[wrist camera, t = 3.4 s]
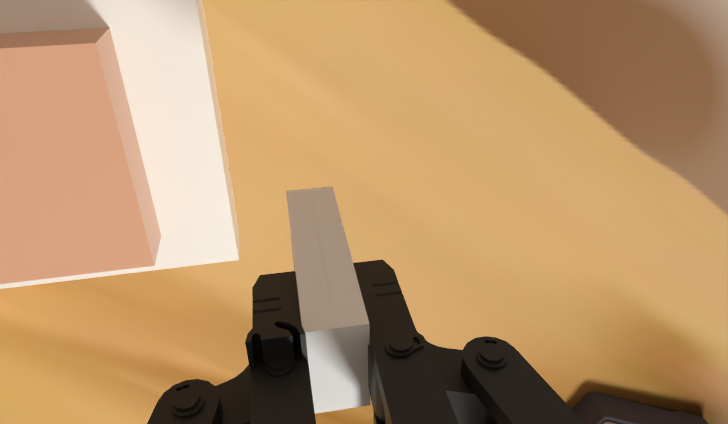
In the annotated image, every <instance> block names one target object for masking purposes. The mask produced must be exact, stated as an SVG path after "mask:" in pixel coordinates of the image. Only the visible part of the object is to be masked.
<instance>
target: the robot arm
mask: <svg viewBox="0 0 728 424" xmlns="http://www.w3.org/2000/svg"><path fill="white" fill-rule="evenodd" d="M286 192H287V202H288V212H289V222H290V232H291V242H292V252H293V262H294V271H292V272H284V273H275V274H267V275H260V276H259V278H258V280H257V281H256V283H255V285H254V286H253V328H252V330H251V331H250V332H249V333H248V335H247V338H246V342H245V343H246V348H247V354H248V360H249V365H248V366H247V367H246V369H245V370H244V371H243V372H242V373H240V374H239V375H238V376H237V377H235V378H233V379H231V380H229V381H227V382H225V383H222V384H220V385H217V386H214V385H212V384H211V383H210V382H208V381H204V380H199V379H194V380H186V381H183V382H181V383H178V384H176V385H174V386H172V387H171V388H170V389H168V390H167V391H166V392H164V394H163V395H162V396H161V398H160V399H159V401H158V402H157V404H156V406H155V408H154V410H153V413H152V415H151V417H150V419H149V421H148V423H147V424H316V420H315V413H322V412H328V411H335V410H341V409H347V408H354V407H360V406H367V405H370V396H371V400H372V404H373V409H374V424H585V423H584V422H583V421H582V420H581V419H580V418H579V417H578V416H577V415H576V414H575V413H574V411H573V410H572V409H571V408H570V407H569V406H568V405H567V404H566V403H565V402H564V401H563V400H562V399H561V397H560V396H559V395H558V394H557V393H556V392H555V391H554V390H553V389H552V388H551V387H550V386H549V385H548V383H547V382H546V381H545V380H544V379H543V378H542V377H541V376H540V375H539V374H538V373H537V372H536V371H535V369H534V368H533V367H532V366H531V365H530V364H529V363H528V362H527V361H526V360H525V359H524V358H523V357H522V355H521V354H520V353H519V352H518V351H517V350H516V349H515V348H514V347H513V346H511V345H510V344H509V343H507V342H506V341H503V340H501V339H498V338H494V337H479V338H475V339H473V340H471V341H470V342H468V343H467V344H466V346H465V347H464V349H463V350H457V349H448V348H443V347H438V346H435V345H433V344H430V343H429V342H427V341H426V340H425V338H424V337H423V336H422V335H421V334H419V333H418V332H417V331H416V329H415V326H414V323H413V321H412V318H411V315H410V313H409V310H408V307H407V305H406V302H405V299H404V296H403V294H402V291H401V288H400V286H399V284H398V280H397V278H396V275H395V272H394V270H393V269H392V268H391V267H390V266H389V265H388V264H387V263H386V262H385V261H383V260H376V261H368V262H359V263H353V261H352V257H351V254H350V250H349V246H348V242H347V239H346V235H345V231H344V228H343V224H342V220H341V217H340V213H339V209H338V205H337V202H336V198H335V194H334V191H333V187H322V188H312V189H302V190H291V191H286Z"/></svg>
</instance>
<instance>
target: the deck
mask: <svg viewBox="0 0 728 424" xmlns="http://www.w3.org/2000/svg"><path fill="white" fill-rule="evenodd" d="M96 28H110V31H111V35H112V39H113V43H114V47H115V51H116V55H117V59H118V63H119V67H120V71H121V75H122V79H123V83H124V87H125V91H126V95H127V99H128V103H129V107H130V111H131V115H132V119H133V123H134V127H135V131H136V136H137V140H138V144H139V148H140V152H141V156H142V160H143V164H144V168H145V172H146V176H147V180H148V184H149V188H150V192H151V196H152V200H153V204H154V208H155V212H156V216H157V220H158V224H159V228H160V232H161V240H160V245H159V249H158V253H157V258H156V262H155V266H148V267H140V268H131V269H123V270H115V271H106V272H98V273H90V274H81V275H73V276H65V277H56V278H48V279H40V280H31V281H23V282H15V283H6V284H0V289H3V288H11V287H19V286H28V285H36V284H44V283H52V282H61V281H69V280H77V279H85V278H94V277H102V276H110V275H118V274H127V273H135V272H143V271H151V270H160V269H168V268H176V267H184V266H192V265H201V264H209V263H217V262H225V261H234V260H239V227H238V220H237V214H236V208H235V201H234V195H233V189H232V183H231V176H230V170H229V164H228V157H227V151H226V145H225V138H224V132H223V126H222V119H221V113H220V107H219V100H218V94H217V88H216V81H215V75H214V69H213V62H212V56H211V50H210V44H209V37H208V31H207V25H206V18H205V12H204V6H203V0H0V34H3V33H21V32H40V31H59V30H78V29H96Z"/></svg>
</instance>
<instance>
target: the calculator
mask: <svg viewBox="0 0 728 424" xmlns="http://www.w3.org/2000/svg"><path fill="white" fill-rule="evenodd" d="M573 411H574V413H575V414H576V415H577V416H578V417H579V418H580V419H581V420H582V421H583V422H584V423H585V424H708V423H707V421H706V420H705V419H704V418H703V417H702V416H698V415H694V414H689V413H685V412H680V411H668V410H664V409H661V408H657V407H653V406H650V405H646V404H642V403H639V402H635V401H631V400H626V399H622V398H617V397H613V396H608V395H604V394H599V393H595V392H590V393H587V394H586V395H585V396H584V397H583V398H582V400H581V401H580V402H579V403H578V404H577V405H576V407H575V408H574V409H573Z"/></svg>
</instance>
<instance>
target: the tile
mask: <svg viewBox="0 0 728 424" xmlns="http://www.w3.org/2000/svg"><path fill="white" fill-rule="evenodd" d="M160 240H161V232H160V228H159V224H158V220H157V216H156V212H155V208H154V204H153V200H152V196H151V192H150V188H149V184H148V180H147V176H146V172H145V168H144V164H143V160H142V156H141V152H140V148H139V144H138V140H137V136H136V131H135V127H134V123H133V119H132V115H131V111H130V107H129V103H128V99H127V95H126V91H125V87H124V83H123V79H122V75H121V71H120V67H119V63H118V59H117V55H116V51H115V47H114V43H113V39H112V35H111V31H110V28H96V29H78V30H59V31H40V32H21V33H3V34H0V284H6V283H15V282H23V281H31V280H40V279H48V278H56V277H65V276H73V275H81V274H90V273H98V272H106V271H115V270H123V269H131V268H140V267H148V266H155V262H156V258H157V253H158V249H159V245H160Z"/></svg>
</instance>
